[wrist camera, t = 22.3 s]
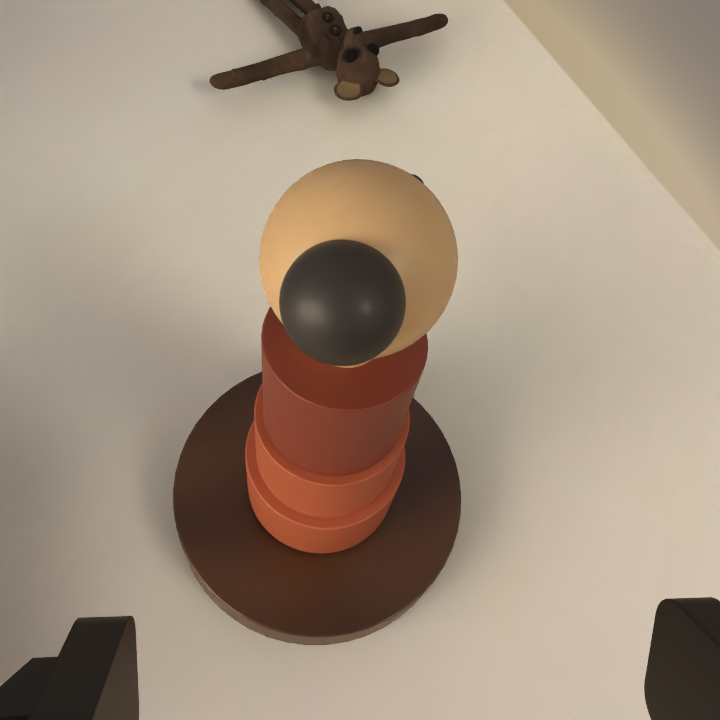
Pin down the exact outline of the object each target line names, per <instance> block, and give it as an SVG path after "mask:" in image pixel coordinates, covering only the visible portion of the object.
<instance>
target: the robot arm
mask: <svg viewBox="0 0 720 720" xmlns="http://www.w3.org/2000/svg"><path fill="white" fill-rule="evenodd" d="M644 691H645V700H646V705H647V709H648V712H649V715H650V717H651V720H720V601H719V600H717V599H715V598H712V597H705V598H677V599H664V600H662V601H661V602H660V604H659V605H658V608H657V611H656V615H655V621H654V628H653V634H652V640H651V646H650V652H649V658H648V665H647V671H646V677H645V685H644ZM0 720H139V694H138V672H137V650H136V630H135V622H134V618H133V617H132V616H117V617H88V618H78V619H77V620H76V621H75V622H74V624H73V626H72V628H71V630H70V632H69V634H68V636H67V638H66V641H65V643H64V645H63V647H62V649H61V651H60V653H59V655H58V657H42V658H32V659H31V660H30V661H29V662H28V663H26V664H25V665H24V666H23V667H22V668H21V669H20V670H18V671H17V672H16V673H15V674H14V675H13V676H12V677H11V678H9V679H8V680H7V681H6V682H5V683H4V684H3V685H1V687H0Z"/></svg>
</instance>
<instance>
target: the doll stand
mask: <svg viewBox="0 0 720 720" xmlns="http://www.w3.org/2000/svg"><path fill="white" fill-rule="evenodd" d="M262 383H263V380H262V372H260V373H258V374H256V375H254V376H251V377H249V378H247V379H245V380H244V381H242V382H240V383H239V384H237V385H235V386H234V387H232V388H231V389H230V390H228V391H227V392H226V393H225V394H223V395H222V396H221V397H219V398H218V399H217V400H216V401H215V402H214V403H213V404H212V405H211V406H210V407H209V408H208V409H207V411H206V412H205V413H204V414H203V416H202V417H201V418H200V420H199V421H198V422H197V423H196V425H195V427H194V428H193V430H192V432H191V433H190V435H189V437H188V439H187V441H186V443H185V445H184V448H183V450H182V453H181V455H180V458H179V462H178V466H177V469H176V474H175V481H174V489H173V508H174V516H175V522H176V528H177V532H178V535H179V538H180V542H181V545H182V548H183V550H184V553H185V555H186V557H187V560H188V562H189V564H190V566H191V568H192V570H193V572H194V575H195V576H196V578H197V579H198V581H199V583H200V584H201V586H202V587H203V589H204V590H205V592H206V593H207V594H208V595H209V596H210V597H211V598H212V599H213V601H214V602H215V603H216V604H217V605H218V606H219V607H220V608H221V609H222V610H224V611H225V612H226V613H227V614H228V615H230V616H231V617H232V618H233V619H235V620H236V621H238V622H239V623H241V624H243V625H244V626H246V627H247V628H249V629H251V630H253V631H256V632H258V633H260V634H262V635H265V636H267V637H270V638H273V639H277V640H280V641H284V642H288V643H296V644H303V645H329V644H335V643H342V642H347V641H351V640H354V639H358V638H361V637H364V636H367V635H369V634H371V633H373V632H375V631H378V630H380V629H382V628H384V627H385V626H387V625H388V624H390V623H391V622H393V621H395V620H396V619H398V618H399V617H400V616H401V615H402V614H404V613H405V612H406V611H407V610H408V609H410V608H411V607H412V606H413V605H414V604H415V603H416V601H417V600H418V599H419V598H420V597H421V596H422V595H423V593H424V592H425V591H426V590H427V589H428V588H429V587H430V585H431V584H432V583H433V582H434V581H435V579H436V578H437V576H438V575H439V573H440V571H441V570H442V568H443V567H444V565H445V563H446V561H447V559H448V557H449V555H450V553H451V550H452V548H453V545H454V541H455V538H456V535H457V532H458V526H459V520H460V514H461V490H460V481H459V475H458V471H457V467H456V463H455V460H454V457H453V454H452V452H451V449H450V447H449V444H448V443H447V441H446V439H445V437H444V435H443V433H442V431H441V430H440V428H439V427H438V425H437V424H436V422H435V421H434V420H433V418H432V417H431V416H430V414H429V413H428V412H427V411H426V410H425V409H424V408H423V407H422V406H421V404H420V403H418V402H417V401H416V400H415V399H414V398H412V401H411V403H410V406H409V413H410V424H409V432H408V435H407V439H406V442H405V444H404V447H405V467H404V473H403V476H402V480H401V482H400V485H399V487H398V489H397V492H396V494H395V496H394V498H393V500H392V503H391V505H390V507H389V509H388V511H387V514H386V516H385V517H384V519H383V521H382V522H381V524H380V525H379V526H378V528H377V529H376V530H375V531H374V532H373V533H372V534H371V535H370V536H369V537H368V538H366V539H365V540H363V541H362V542H360V543H359V544H357V545H355V546H353V547H351V548H348V549H345V550H342V551H338V552H333V553H310V552H304V551H300V550H297V549H294V548H292V547H290V546H288V545H286V544H283V543H282V542H280V541H279V540H277V539H276V538H275V537H273V536H272V535H271V534H270V533H269V532H268V531H267V530H266V529H265V528H264V527H263V525H262V524H261V523H260V521H259V520H258V518H257V517H256V515H255V512H254V510H253V508H252V505H251V502H250V499H249V493H248V484H247V473H246V462H245V448H246V440H247V437H248V433H249V430H250V428H251V425H252V423H253V421H254V408H255V401H256V398H257V394H258V391H259V389H260V387H261V385H262Z"/></svg>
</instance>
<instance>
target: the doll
mask: <svg viewBox="0 0 720 720" xmlns="http://www.w3.org/2000/svg"><path fill="white" fill-rule="evenodd" d="M259 261H260V274H261V280H262V284H263V288H264V291H265V294H266V296H267V299H268V301H269V304H270V306H271V307H270V308H269V310H268V312H267V314H266V316H265V319H264V323H263V326H262V334H261V341H262V380H263V383H262V385H261V387H260V389H259V391H258V394H257V398H256V401H255V408H254V421H253V423H252V425H251V428H250V430H249V433H248V437H247V440H246V448H245V462H246V473H247V484H248V493H249V499H250V502H251V505H252V508H253V510H254V512H255V515H256V517H257V518H258V520H259V521H260V523H261V524H262V525H263V527H264V528H265V529H266V530H267V531H268V532H269V533H270V534H271V535H272V536H273V537H275V538H276V539H277V540H279V541H280V542H282V543H283V544H286V545H288V546H290V547H292V548H294V549H297V550H300V551H304V552H310V553H333V552H338V551H342V550H345V549H348V548H351V547H353V546H355V545H357V544H359V543H360V542H362V541H363V540H365V539H366V538H368V537H369V536H370V535H371V534H372V533H373V532H374V531H375V530H376V529H377V528H378V526H379V525H380V524H381V522H382V521H383V519H384V517H385V516H386V514H387V511H388V509H389V507H390V505H391V503H392V500H393V498H394V496H395V494H396V492H397V489H398V487H399V485H400V482H401V480H402V476H403V473H404V467H405V447H404V444H405V442H406V439H407V435H408V432H409V424H410V413H409V406H410V403H411V401H412V398H413V395H414V393H415V390H416V387H417V385H418V382H419V379H420V377H421V374H422V372H423V369H424V366H425V363H426V359H427V352H428V339H427V334H426V333H427V332H428V331H429V330H430V329H431V328H432V327H433V325H434V324H435V323H436V322H437V321H438V319H439V318H440V316H441V315H442V313H443V312H444V310H445V308H446V306H447V304H448V302H449V300H450V298H451V295H452V292H453V288H454V285H455V281H456V277H457V267H458V252H457V243H456V238H455V234H454V230H453V227H452V225H451V222H450V220H449V217H448V215H447V213H446V211H445V210H444V208H443V206H442V205H441V203H440V202H439V200H438V199H437V198H436V196H435V195H434V194H433V193H432V192H431V191H430V190H429V189H428V187H426V186H425V185H424V183H423V181H422V180H421V179H420V178H419V177H418V176H416V175H412V174H410V173H408V172H406V171H404V170H402V169H400V168H398V167H395V166H393V165H390V164H387V163H383V162H378V161H373V160H364V159H353V160H343V161H338V162H334V163H330V164H327V165H325V166H322V167H320V168H317V169H315V170H313V171H311V172H309V173H308V174H306V175H305V176H303V177H302V178H301V179H299V180H298V181H297V182H295V183H294V184H293V185H292V186H291V187H290V188H289V189H288V190H287V191H286V192H285V193H284V194H283V195H282V197H281V198H280V199H279V201H278V202H277V203H276V205H275V206H274V208H273V210H272V212H271V214H270V216H269V218H268V220H267V222H266V225H265V229H264V232H263V235H262V239H261V246H260V256H259Z"/></svg>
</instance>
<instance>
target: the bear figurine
mask: <svg viewBox="0 0 720 720" xmlns="http://www.w3.org/2000/svg"><path fill="white" fill-rule="evenodd" d="M289 1H290V2H291V3H293V4H294V5H295V6H296V7H297V8H298V9H299V10H300V11H301V12H302V13H303V14H305V16H304V17H303V18H302V19H301V18H300V17H299V16H298V15H297V14H296V13H295V12H294V11H293V10H292V9H291V8H290V7H289V6H288V5H286V4H285V3H284V2H283V1H282V0H260V2H261V3H262V4H263V5H265V6H267V7H268V8H269V9H270V10H271V11H272V12H273V13H274V14H275V16H277V17H278V18H279V19H280V20H281V21H282V22H283V23H285V24H286V25H287V26H288V27H289V28H290V29H291V30H292V31H293V32H294V33H295V34H296V35H297V36H298V38H299V40H300V42H301V46H302V47H303V48H302V49H299V50H296V51H293V52H290V53H287V54H284V55H280V56H277V57H274V58H271V59H268V60H265V61H262V62H259V63H256V64H252V65H248V66H245V67H241V68H238V69H232V70H231V71H227V72H223V73H219V74H216V75H213V76H212V77H211V78H210V83H211V85H212V86H213V87H215V88H217V89H223V90H224V89H230V88H234V87H238V86H243V85H246V84H249V83H252V82H255V81H259V80H266V79H268V78H272V77H274V76H277V75H281V74H285V73H289V72H293V71H299V70H304V69H307V68H310V67H313V66H318V65H321V66H322V67H323V68H325V69H327V70H337V79H338V82H339V83H337V84H336V86H335V87H334V92H335V94H336V96H337V97H338V98H340V99H342V100H347V101H350V100H356V99H358V98H360V97H362V96H365V95H368V94H370V93H372V92H373V91H374V89H375V87H376V85H377V83H379V84H381V85H383V86H386V87H392V86H395V85H397V84H398V83H399V77H398V75H397V74H396V73H395V72H393V71H391V70H389V69H381V68H380V67H379V61H378V58H377V55H378V54H379V48H380V47H382V46H385V45H388V44H391V43H394V42H397V41H401V40H405V39H409V38H412V37H415V36H421V35H424V34H427V33H429V32H432V31H435V30H438V29H441V28H443V27H444V26H446V25H447V23H448V18H447V16H446V15H444V14H434V15H431V16H429V17H425V18H421V19H417V20H413V21H410V22H406V23H401V24H397V25H392V26H388V27H383V28H378V29H374V30H369V31H364V32H363V31H362V28H361V27H359V26H357V27H353V28H350V29H349V30H348V29H347V28H346V26H345V23H344V20H343V17H342V15H340V13H339V12H338V11H337V10H336V9H335V8H332V7H330V6H326V7H323V8H321V6H320V5H319V4H318V3H317V4H315V3H314V2H313V1H312V0H289Z"/></svg>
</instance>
